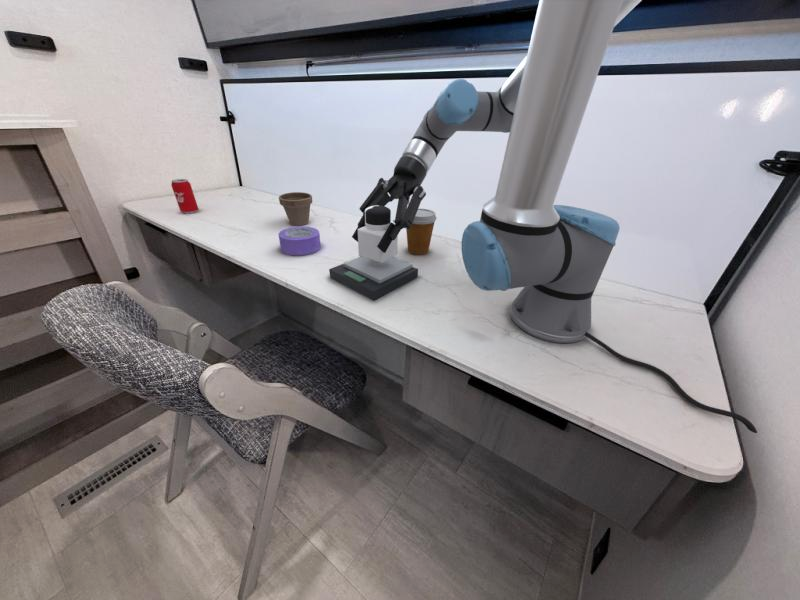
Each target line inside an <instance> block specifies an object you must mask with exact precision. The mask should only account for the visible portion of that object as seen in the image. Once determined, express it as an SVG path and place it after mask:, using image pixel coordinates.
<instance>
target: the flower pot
mask: <svg viewBox="0 0 800 600" xmlns="http://www.w3.org/2000/svg"><path fill="white" fill-rule="evenodd" d="M278 202H279V205H280V206H281V207H283V210H284V212H285V214H286V216H287V219H288V222H289V224H290V225H291V226H294V227H299V226H305V225H307V224H309V222H310V211H311V204H313V195H312V194H311V193H307V192H301V191H300V192H299V191H296V192H295V191H293V192H286V193H282V194H280V195H279V196H278Z"/></svg>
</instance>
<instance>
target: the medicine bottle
mask: <svg viewBox="0 0 800 600" xmlns="http://www.w3.org/2000/svg"><path fill="white" fill-rule="evenodd" d="M391 216H392V212H391V209H390V208H389V207H388V206H386V205H385V206H379V205H376V206H370V207H368V208H366V209H365V225H366V226H364V227H362V228H359V229H358V242H357V246H358V257H363V258H366V259H369V260H373V261H376V262H379V263H383V262H384V261H386V260H388V259H389V258H391V257H395V256H396V255H397V254H398V241H399V238H398V237H399V236H397V237H396V239H395V240H392V242H391V244H390V245H389V247H388V249H387V251H386V252H385V253H384V252H382V251H381V250H380V249H379V248H378V247H377V246H378V244H379V242H380V241H381V239H382V237H383V235H384V234H385V232H386V230H387V228H388V227H389V225H390V223H392V222H391V220H392V219H391V218H392V217H391Z"/></svg>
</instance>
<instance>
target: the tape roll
mask: <svg viewBox="0 0 800 600" xmlns="http://www.w3.org/2000/svg"><path fill="white" fill-rule="evenodd" d="M277 236H278V239H279V246H280V250H281V251H280V252H282V253H284V254H286V255H288V256H307V255H312V254H315V253H316V252H318V251H320V250H321V247H322V246H321V236H320V230H318V229H317V228H315V227H311V226H305V225H301V226H291V227H286V228H283V229H281V230H280V231H279V232H278V235H277Z"/></svg>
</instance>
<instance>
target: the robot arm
mask: <svg viewBox="0 0 800 600" xmlns="http://www.w3.org/2000/svg"><path fill="white" fill-rule="evenodd" d="M642 1H643V0H539V1H538V6H537V9H536V14H535V17H534V18H535V19H534V23H533V28H532V32H531V36H530V41H529V45H528V50H527V53H526V56H525V57H524V58H523V59H522V61H521V62H520V63H519V64H518V65H517V66H516V68H515V69H514V71H512V73H511V74H510V75H509V77H508V78H507V79H506V80H505V82H504V83H503V84H502V85H501V86H500V88H498V89H497V91H480V90H479V91H478V90H477V89H476V87H475V86H474V84H472V82H469V81H467V80H466V79H464V78H455V79H453V80H452V81H450V82H449V83H448V84H447V85H446V86H445V88H444V89H443V90H441V91H440V93H439V94H438V96H437V97H436V98H437V99H436V100H435V102H434V103H433V104H432V105H431V106H430V108H429V109H428V110H427V111H426V113H425V114H424V116H423V118H422V120H421V122H420V123H419V125H418V127H417V129H416V131H415V133H414V134H413V136H412V137H411V139H410V141H409V143H408V144H407V145H406V147H405V149H404V150H403V152H402V154H401V156H400V158H399V160H398V161H397V162H396V164H395V166H394V168H393V175H392V176H391V177H390V178H388V179H384V178H383V177H380V178H379V179H378V180H377V184H376V185H375V187H374V188H373V190H372V191H371V192H370V193H369V195H368V196H366V199H365V200H364V202H363V203H362V204H361V205H360V206H359V211H360V212H361V213H362V216H361V217H360V219H359V221H358V223H357V227H356V229H355V230H354V232H353V234H352V236H351V238H352V239H353V240H355V241H356V242H357V243H358V229H359V228H362V227H364V226H366V225H365V209H366V208H368V207H370V206H376V205H379V206H385V207H386V206H387V204H389V203H392V202H393V201H394V200H397V207H396V212H395V217H394V219H393V220H392V222H391V223H390V225H389V227H388V228H387V230H386V232H385V234H384V235H383V237H382V239H381V241H380V242H379V244H378V246H377V247H378V248H379V249H380V250H381V251H382V252H384V253H385V252H386V251H387V249H388V247H389V245H390V244H391V242H392V240H395V239H396V237H397V236H398V235H399V234H400V232H401V231H402V230H403V229H406V228H407V229H410V228H411V226H412V223H413V221H414V218H415V215H416V213H417V210H418V209H420V205H421V203H422V201H423V200H424V199H425V197H426V196H427V192H426V191H425V190H424V188H423V186H422V184H423V182H424V180H425V179H426V176H427V174H428V173H429V171H430V170H431V168H432V166H433V164H434V163H435V161H436V159H437V157H438V155H439V154H440V153H441V150H442V149H443V148H444V146H445V144H446V143H447V141H448V140H449V139H450V138H452V136H454V134H455V133H456V132H487V133H489V132H491V133H503V134H505V133H506V134H507V133H508V138H507V141H506V147H505V151H504V156H503V160H502V164H501V168H500V173H499V177H498V182H497V186H496V191H495V195H494V196H493V197H492V198H490V199H489V200H488V201H486V202H485V203H484V204H483V205H482V209H481V213H480V219H479V220H476V221H473V222H471V223H469V224H467V225H466V227H465V228H464V230H463V233H462V235H461V236H462V237H461V255H462V256H461V257H462V262H463V265H464V268H465V270H466V273H467V275H468V277H469V279H470V281H471V282H472V283H473V284H474V285H475V286H476V287H477V288H478V289H480V290H482V291H485V292H491V291H501V292H505V291H507V290H511V289H512V290H513V289H519V288H521V291H520V292H519V293H518V294H517V296H516V298H514V300H513V301H512V304H511V308H510V311H509V313H510V318H511V320H512V321H513V323H514V324H515V325H516V327H518V328H520V329H521V330H522V331H524V332H525V333H527V334H529V335H530V336H533V337H535V338H538V339H540V340H544V341H547V342H552V343H558V344H572V343H574V344H575V343H578V342H581V341H582V340H584V339H585V338H587V339H589V340H591V341H593V342H594V343H596V344H597V345H599V346H600V347H601V348H602V349H604V350H606V351H607V352H608V353H609V354H611V355H613V356H614V357H616V358H618V359H619V360H621V361H624V362H625V363H629V364H633V365H635V366H639V367H642V368H645V369H648V370H650V371H653V372H655V373H656V374H658V375H659V376H661V377H662V378H664V379H665V380H666V381H667V382H668V383H669V384H670V385H671V387H673V389H674V390H675V391H676V393H678V394H679V396H681V397H682V398H683V399H684V400H685V401H686V402H688V403H690V404H691V405H693V406H694V407H696V408H698V409H701V410H703V411H706V412H709V413H713V414H716V415H720V416H724V417H728V418H731V419H734V420H737V421H739V422H740V423H742V424H743V425H744V426H745V427H746V428H747V430H749V432H751V433H753V434H758V431H757V430H758V429H757V428H756V427H755V426H754V424H753V423H752V422H751V421H750V420H749V419H748V418H746V417H745V416H744V415H743V416H742V415H741V414H739V413H738V414H737V413H736V412H733V411H730V410H725V409H722V408H721V409H720V408H717V407H713V406H710V405H706V404H703V403H701V402H700V401H697V400H696V399H695V398H693V397H692V396H690V395H689V394H687V392H686V391H684V390H683V388H682V387H681V386H680V385H679V384H678V382H677V381H676V380H675V379H674V378H673V377H672V376H671V375H669V374H668V373H667V372H665V371H664V370H662V369H660V368H659V367H657V366H655V365H652V364H649V363H646V362H643V361H639V360H636V359H633V358H630V357H627V356H625V355H622V354H621V353H619V352H617V351H616V350H615V349H613V348H612V347H610V346H609V345H607V344H606V343H605V342H603V341H602V340H600V339H599V338H597V337H595V336H594V335H592V334H591V333H589V332H590V329H591V327H592V298H593V295H594V293H595V290H596V288H597V286H598V283H599V281H600V279H601V276H602V274H603V272H604V269H605V267H606V266H607V263H608V260H609V257H610V256H611V253H612V251H613V248H614V247H616V241H617V238H618V235H619V233H620V227H621V226H620V224H619V223H618V221H617V220H615V219H614V218H613V217H611V216H608V215H606V214H603V213H600V212H597V211H593V210H589V209H585V208H581V207H576V206H570V205H564V204H563V205H562V204H555V201H556V198H557V195H558V192H559V189H560V186H561V183H562V180H563V177H564V175H565V172H566V168H567V166H568V163H569V160H570V157H571V154H572V151H573V149H574V145H575V142H576V140H577V136H578V134H579V131H580V128H581V125H582V122H583V119H584V117H585V113H586V110H587V107H588V105H589V102H590V99H591V95H592V93H593V89H594V86H595V83H596V81H597V78H598V75H599V73H600V69H601V66H602V63H603V61H604V57H605V55H606V51H607V49H608V45H609V43H610V40H611V37H612V34H613V31H614V28H615V27H616V26H617V25H618V24H619V23H620V22H622V20H623V19H624V18H625V17H626V16H627V15H629V13H630V12H631V11H633V9H635V7H636V6H638V5H639V4H640V3H641V2H642ZM398 237H399V236H398Z"/></svg>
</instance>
